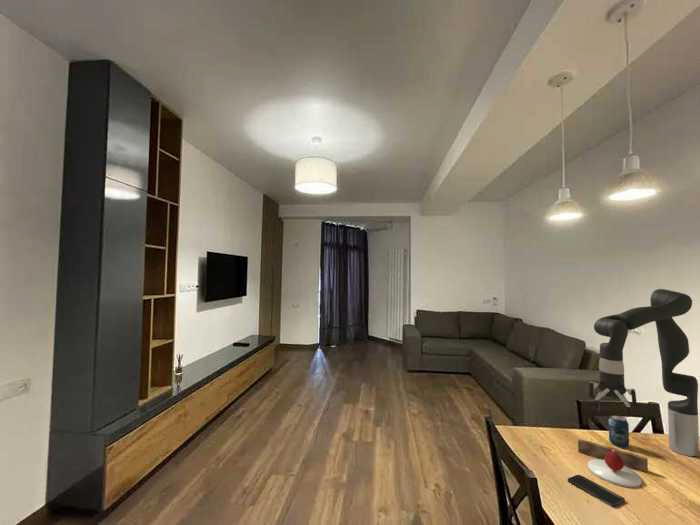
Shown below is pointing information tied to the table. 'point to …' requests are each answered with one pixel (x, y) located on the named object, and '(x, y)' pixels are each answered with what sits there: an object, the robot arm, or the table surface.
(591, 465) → the plate
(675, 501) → the table surface
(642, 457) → the wooden plank
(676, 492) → the table surface
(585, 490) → the phone
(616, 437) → the soda can
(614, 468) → the onion
